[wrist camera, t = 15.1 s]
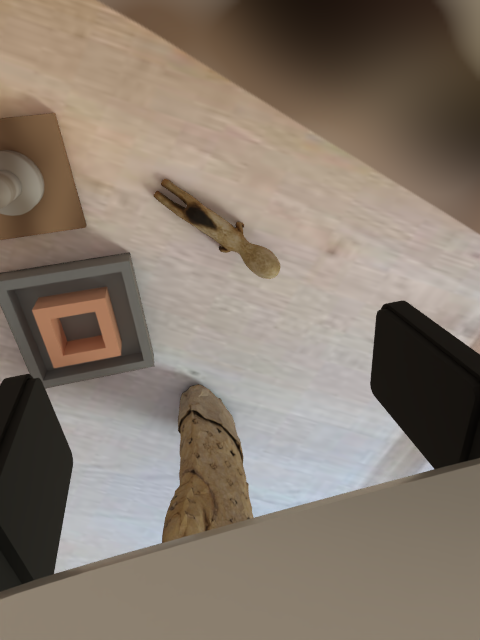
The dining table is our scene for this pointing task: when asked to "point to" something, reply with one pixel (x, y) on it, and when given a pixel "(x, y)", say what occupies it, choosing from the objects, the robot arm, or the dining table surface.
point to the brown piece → (36, 179)
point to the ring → (75, 304)
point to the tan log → (207, 469)
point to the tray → (77, 316)
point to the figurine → (221, 231)
